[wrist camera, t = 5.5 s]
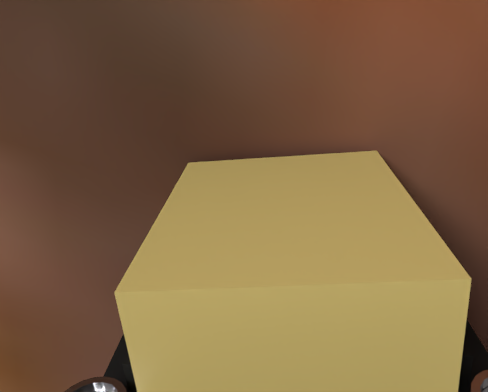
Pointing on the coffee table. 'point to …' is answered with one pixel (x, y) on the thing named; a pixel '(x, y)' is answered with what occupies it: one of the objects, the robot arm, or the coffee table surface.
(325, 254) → the yellow and grey block
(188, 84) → the coffee table surface
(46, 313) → the coffee table surface
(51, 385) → the coffee table surface
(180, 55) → the coffee table surface
